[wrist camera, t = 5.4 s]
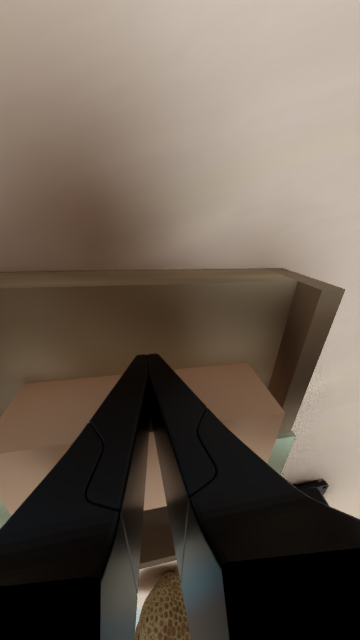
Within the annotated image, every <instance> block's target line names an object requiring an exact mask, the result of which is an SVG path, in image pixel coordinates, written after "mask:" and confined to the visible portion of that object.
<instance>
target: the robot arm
mask: <svg viewBox="0 0 360 640" xmlns="http://www.w3.org/2000/svg"><path fill="white" fill-rule="evenodd" d="M150 414H151V421H152V426H153V432H154V437H155V443H156V448H157V454H158V460H159V465H160V471H161V476H162V482H163V487H164V493H165V498H166V504H167V509H168V515H169V520H170V526H171V531H172V537H173V542H174V548H175V553H176V559H177V564H178V570H179V575H180V581H181V582H182V583H181V587H182V592H183V598H184V603H185V609H186V614H187V620H188V625H189V631H190V636H191V640H360V519H358V518H356V517H353V516H351V515H348V514H346V513H344V512H341V511H339V510H336V509H334V508H332V507H330V506H329V505H328V503H327V502H326V500H325V499H324V497H323V495H324V493H325V491H326V490H327V488H328V486H329V485H328V484H327V482H326V481H320V482H316V483H311V484H306V485H302V486H297V487H294V486H293V485H292V484H290V483H289V482H288V481H287V480H285V479H284V478H283V477H282V476H281V475H280V474H279V473H277V472H276V471H275V470H274V469H273V468H272V467H271V466H269V465H268V464H267V463H266V462H265V461H264V460H263V459H261V458H260V457H259V456H258V455H257V454H256V453H255V452H253V451H252V450H251V449H250V448H249V447H248V446H247V445H245V444H244V443H243V442H242V441H241V440H240V439H239V438H238V437H237V436H235V435H234V434H233V433H232V432H231V431H230V430H229V429H228V428H227V427H226V426H225V425H224V424H223V423H222V422H221V421H220V420H219V419H218V418H217V417H216V416H215V415H214V414H213V413H212V412H211V410H210V409H209V408H207V406H206V405H205V404H204V403H203V402H202V401H201V400H200V399H199V398H198V396H197V395H196V394H195V393H194V392H193V391H192V390H191V389H190V388H189V387H188V386H187V384H186V383H185V382H184V381H183V380H182V379H181V378H180V377H179V376H178V375H177V374H176V373H175V371H174V370H173V369H172V368H171V367H170V366H169V365H168V364H167V363H166V362H165V361H164V359H163V358H162V357H161V356H160V355H159V354H157V353H155V354H148V355H147V354H142V355H136V357H135V358H134V359H133V361H132V362H131V363H130V365H129V366H128V368H127V369H126V370H125V372H124V373H123V375H122V376H121V377H120V379H119V380H118V382H117V383H116V384H115V386H114V387H113V389H112V390H111V391H110V393H109V394H108V396H107V397H106V398H105V400H104V401H103V403H102V404H101V405H100V407H99V408H98V409H97V411H96V412H95V414H94V415H93V416H92V418H91V419H90V421H89V423H87V425H86V426H85V427H84V429H83V430H82V432H81V433H80V434H79V436H78V437H77V438H76V440H75V441H74V442H73V444H72V445H71V446H70V448H69V449H68V450H67V452H66V453H65V454H64V455H63V456H62V457H61V459H60V460H59V461H58V462H57V463H56V465H55V466H54V467H53V468H52V469H51V471H50V472H49V473H48V474H47V475H46V477H45V478H44V479H43V480H42V481H41V482H40V483H39V485H38V486H37V487H36V488H35V489H34V490H33V492H32V493H31V494H30V495H29V496H28V497H27V498H26V500H25V501H24V502H23V503H22V504H21V505H20V506H19V508H18V509H17V510H16V511H15V512H14V513H13V515H12V516H11V517H10V518H9V519H8V520H7V521H6V523H5V524H4V525H3V526H2V527H1V528H0V640H134V637H135V622H136V609H137V593H138V581H139V567H140V553H141V539H142V525H143V512H144V498H145V484H146V470H147V456H148V442H149V428H150Z"/></svg>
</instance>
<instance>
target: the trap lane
mask: <svg viewBox="0 0 360 640" xmlns="http://www.w3.org/2000/svg"><path fill="white" fill-rule="evenodd" d="M344 291H345V289H342V288H339V287H337V286H334V285H331V284H328V283H325V282H322V281H319V280H316V279H313V278H310V277H307V276H304V275H301V274H298V273H295V272H292V271H289V270H286V269H283V268H278V269H203V270H129V271H54V272H0V417H1V416H2V414H3V413H4V411H5V410H6V408H7V407H8V406H9V404H10V403H11V401H12V400H13V399H14V397H15V396H16V394H17V393H18V392H19V390H20V389H21V387H22V386H23V384H26V383H37V382H47V381H58V380H69V379H79V378H90V377H100V376H111V375H122V374H123V373H124V372H125V370H126V369H127V368H128V366H129V365H130V363H131V362H132V361H133V359H134V358H135V357H136V355H142V354H147V355H148V354H155V353H157V354H159V355H160V356H161V357H162V358H163V359H164V361H165V362H166V363H167V364H168V365H169V366H170V367H171V368H172V369H173V370H174V369H185V368H196V367H206V366H217V365H227V364H238V363H248V364H249V365H250V367H251V368H252V369H253V371H254V372H255V373H256V374H257V376H258V377H259V378H260V380H261V381H262V382H263V384H264V385H265V386H266V388H267V389H268V390H269V392H270V393H271V394H272V396H273V397H274V398H275V400H276V401H277V402H278V404H279V405H280V406H281V408H282V409H283V410H284V412H285V416H284V418H283V421H282V424H281V427H280V430H279V433H278V435H277V438H276V441H275V444H274V447H273V449H272V452H271V455H270V458H269V461H268V465H269V466H271V467H272V468H273V469H274V470H275V471H276V472H277V473H279V474H280V473H281V471H282V469H283V466H284V464H285V461H286V459H287V456H288V454H289V452H290V449H291V447H292V444H293V442H294V439H295V437H296V436H295V434H294V433H293V432H292V431H291V429H292V426H293V423H294V421H295V418H296V416H297V413H298V410H299V408H300V405H301V403H302V400H303V398H304V395H305V392H306V390H307V387H308V385H309V382H310V379H311V377H312V374H313V372H314V369H315V367H316V364H317V361H318V359H319V356H320V354H321V351H322V348H323V346H324V343H325V341H326V338H327V335H328V333H329V330H330V328H331V325H332V323H333V320H334V317H335V315H336V312H337V310H338V307H339V304H340V302H341V299H342V297H343V294H344ZM10 517H11V514H10V513H9V512H8V510H7V509H6V507H5V506H4V504H3V503H2V501H1V500H0V528H1V527H2V526H3V525H4V524H5V523H6V521H7V520H8V519H9V518H10ZM174 560H177V559H176V553H175V548H174V542H173V537H172V531H171V526H170V520H169V515H168V509H167V506H165V507H160V508H155V509H150V510H145V511H144V512H143V525H142V539H141V553H140V567H139V569H142V568H146V567H150V566H154V565H158V564H162V563H166V562H170V561H174Z"/></svg>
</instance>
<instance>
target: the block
mask: <svg viewBox="0 0 360 640" xmlns="http://www.w3.org/2000/svg"><path fill="white" fill-rule="evenodd" d="M174 371H175V373H176V374H177V375H178V376H179V377H180V378H181V379H182V380H183V381H184V382H185V383H186V384H187V386H188V387H189V388H190V389H191V390H192V391H193V392H194V393H195V394H196V395H197V396H198V398H199V399H200V400H201V401H202V402H203V403H204V404H205V405H206V406H207V408H209V409H210V410H211V412H212V413H213V414H214V415H215V416H216V417H217V418H218V419H219V420H220V421H221V422H222V423H223V424H224V425H225V426H226V427H227V428H228V429H229V430H230V431H231V432H232V433H233V434H234V435H235V436H237V437H238V438H239V439H240V440H241V441H242V442H243V443H244V444H245V445H247V446H248V447H249V448H250V449H251V450H252V451H253V452H255V453H256V454H257V455H258V456H259V457H260V458H261V459H263V460H264V461H265V462H266V463H267V464H268V461H269V458H270V455H271V452H272V449H273V447H274V444H275V441H276V438H277V435H278V433H279V430H280V427H281V424H282V421H283V418H284V416H285V412H284V410H283V409H282V408H281V406H280V405H279V404H278V402H277V401H276V400H275V398H274V397H273V396H272V394H271V393H270V392H269V390H268V389H267V388H266V386H265V385H264V384H263V382H262V381H261V380H260V378H259V377H258V376H257V374H256V373H255V372H254V371H253V369H252V368H251V367H250V365H249V364H248V363H238V364H227V365H217V366H206V367H196V368H185V369H174ZM122 375H123V374H122ZM122 375H111V376H100V377H90V378H79V379H69V380H58V381H47V382H37V383H26V384H23V386H22V387H21V389H20V390H19V392H18V393H17V394H16V396H15V397H14V399H13V400H12V401H11V403H10V404H9V406H8V407H7V408H6V410H5V411H4V413H3V414H2V416H1V417H0V500H1V501H2V503H3V504H4V506H5V507H6V509H7V510H8V512H9V513H10V514H11V516H12V515H13V513H14V512H15V511H16V510H17V509H18V508H19V506H20V505H21V504H22V503H23V502H24V501H25V500H26V498H27V497H28V496H29V495H30V494H31V493H32V492H33V490H34V489H35V488H36V487H37V486H38V485H39V483H40V482H41V481H42V480H43V479H44V478H45V477H46V475H47V474H48V473H49V472H50V471H51V469H52V468H53V467H54V466H55V465H56V463H57V462H58V461H59V460H60V459H61V457H62V456H63V455H64V454H65V453H66V452H67V450H68V449H69V448H70V446H71V445H72V444H73V442H74V441H75V440H76V438H77V437H78V436H79V434H80V433H81V432H82V430H83V429H84V427H85V426H86V425H87V423H89V421H90V419H91V418H92V416H93V415H94V414H95V412H96V411H97V409H98V408H99V407H100V405H101V404H102V403H103V401H104V400H105V398H106V397H107V396H108V394H109V393H110V391H111V390H112V389H113V387H114V386H115V384H116V383H117V382H118V380H119V379H120V377H121V376H122ZM165 506H167V504H166V498H165V493H164V487H163V482H162V476H161V471H160V465H159V460H158V454H157V448H156V443H155V437H154V432H153V426H152V421H151V414H150V428H149V442H148V456H147V470H146V484H145V498H144V511H145V510H150V509H155V508H160V507H165Z"/></svg>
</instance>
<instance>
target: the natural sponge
mask: <svg viewBox="0 0 360 640" xmlns="http://www.w3.org/2000/svg"><path fill="white" fill-rule="evenodd" d="M181 583H182V582H181V581H180V575H179V574H177V573H175V572H166V573H165V574H164V575H162V576H161V578H160V579H159V580H158V581H157V583H156V585H155V586H154V588H153V590H152V591H151V592H150V594H149V595H148V596H147V598H146V600H145V602H144V605H143V607H142V610H141V614H140V619H139V622H138V625H137V627H136V631H135V637H134V640H191V636H190V631H189V625H188V620H187V614H186V609H185V603H184V598H183V592H182V587H181Z"/></svg>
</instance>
